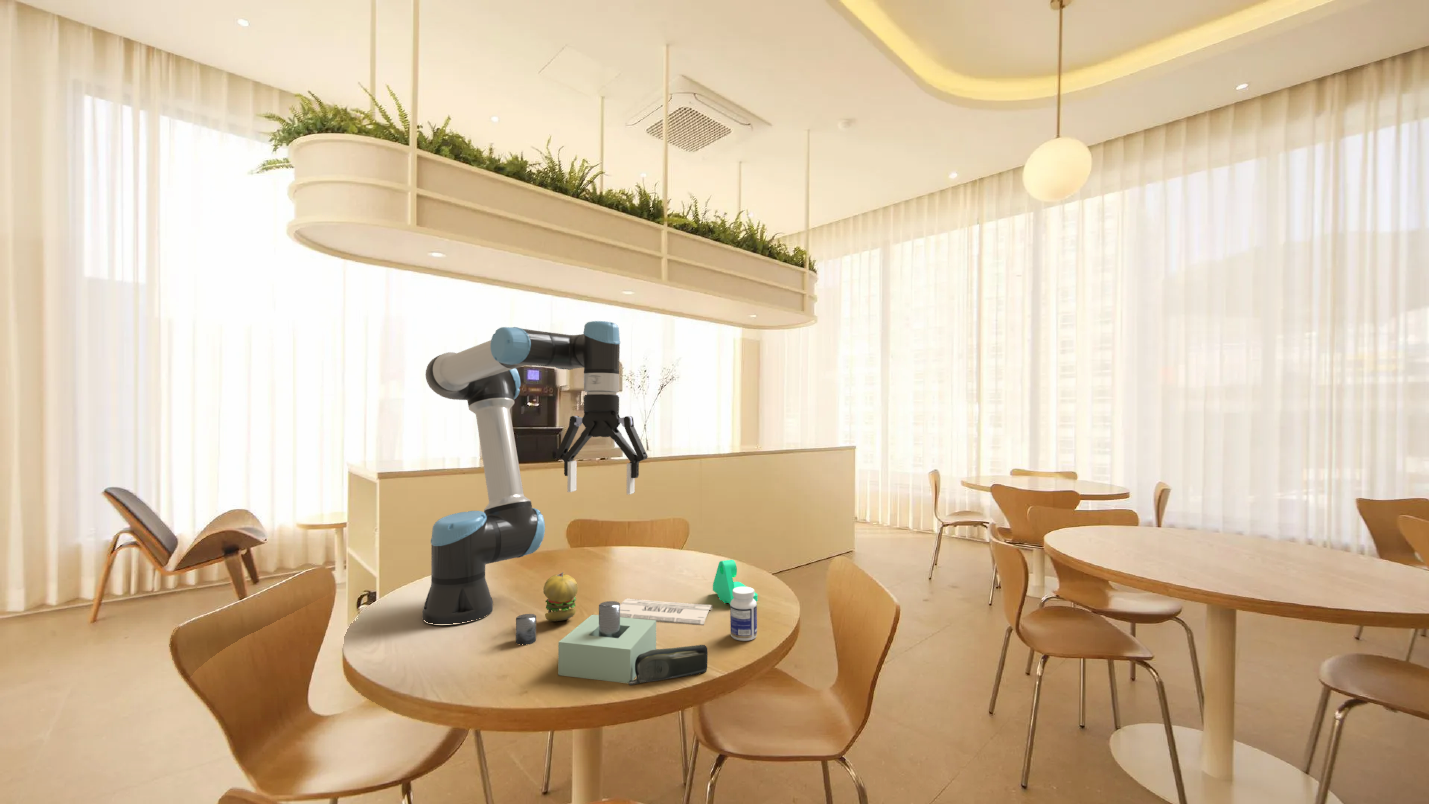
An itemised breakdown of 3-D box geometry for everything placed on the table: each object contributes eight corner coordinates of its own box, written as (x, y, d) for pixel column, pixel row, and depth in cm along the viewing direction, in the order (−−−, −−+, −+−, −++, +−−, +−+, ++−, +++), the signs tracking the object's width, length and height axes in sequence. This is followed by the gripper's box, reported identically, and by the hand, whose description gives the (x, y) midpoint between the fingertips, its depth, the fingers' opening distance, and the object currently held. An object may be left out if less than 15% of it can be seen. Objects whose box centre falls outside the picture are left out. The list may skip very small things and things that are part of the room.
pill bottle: (742, 628, 123) (742, 583, 123) (762, 636, 119) (762, 589, 119) (724, 636, 119) (724, 589, 119) (744, 644, 115) (744, 596, 115)
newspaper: (713, 608, 137) (713, 599, 137) (703, 633, 125) (703, 622, 125) (626, 601, 141) (626, 592, 141) (608, 624, 129) (608, 614, 129)
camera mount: (759, 605, 138) (759, 564, 138) (731, 609, 135) (731, 567, 135) (739, 591, 149) (739, 552, 149) (712, 594, 146) (712, 555, 146)
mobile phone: (704, 641, 105) (626, 652, 99) (710, 647, 102) (631, 659, 96) (703, 667, 105) (626, 680, 99) (709, 674, 102) (630, 688, 96)
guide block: (558, 675, 101) (558, 641, 101) (591, 643, 115) (592, 614, 115) (630, 683, 98) (630, 649, 98) (656, 650, 111) (656, 620, 112)
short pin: (511, 644, 114) (512, 619, 114) (522, 636, 118) (522, 613, 118) (529, 646, 113) (529, 621, 113) (539, 638, 117) (539, 614, 117)
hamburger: (573, 614, 131) (574, 563, 131) (581, 624, 125) (581, 571, 125) (540, 620, 127) (540, 567, 128) (546, 631, 121) (546, 576, 121)
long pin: (595, 665, 105) (595, 607, 105) (603, 656, 109) (604, 600, 109) (614, 668, 104) (615, 609, 104) (623, 658, 108) (623, 602, 108)
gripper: (540, 393, 118) (539, 492, 118) (650, 393, 113) (649, 497, 113) (557, 394, 126) (556, 488, 125) (662, 394, 120) (661, 492, 120)
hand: (600, 492), depth 119 cm, fingers open, 13 cm apart
